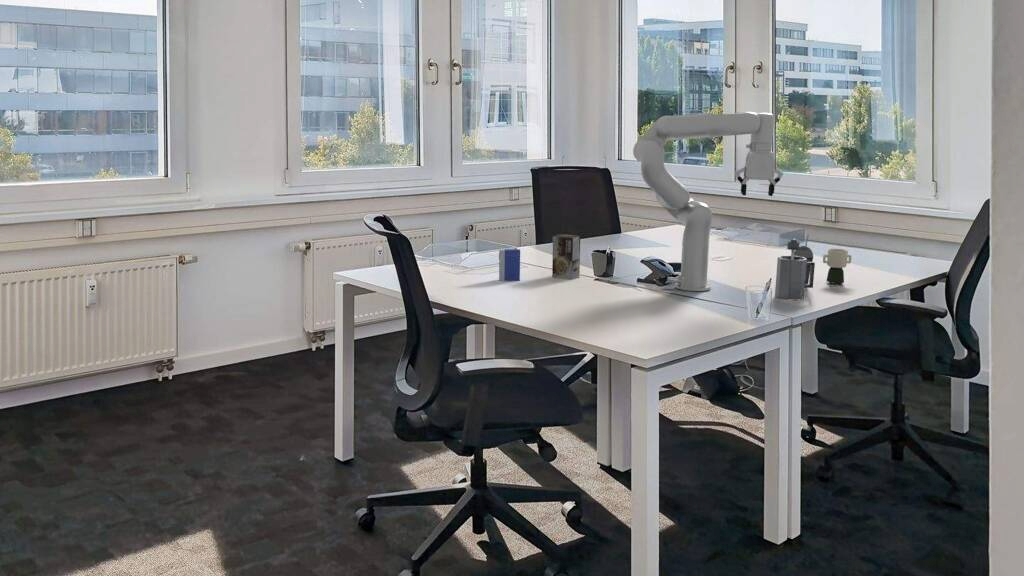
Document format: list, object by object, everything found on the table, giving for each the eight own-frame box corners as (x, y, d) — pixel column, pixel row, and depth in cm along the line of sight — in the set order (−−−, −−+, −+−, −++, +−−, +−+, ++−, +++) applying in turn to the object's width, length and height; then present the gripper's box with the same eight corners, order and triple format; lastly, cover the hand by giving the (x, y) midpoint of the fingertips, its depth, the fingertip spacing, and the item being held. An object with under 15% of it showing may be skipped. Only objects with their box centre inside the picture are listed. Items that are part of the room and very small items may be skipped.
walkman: (519, 279, 347) (519, 248, 345) (519, 280, 345) (520, 249, 342) (498, 279, 347) (498, 248, 344) (498, 280, 344) (499, 249, 342)
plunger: (783, 296, 320) (787, 240, 316) (777, 292, 326) (781, 237, 322) (801, 296, 320) (806, 240, 316) (795, 293, 326) (799, 237, 322)
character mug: (845, 281, 352) (848, 248, 350) (852, 285, 345) (855, 251, 343) (817, 281, 352) (820, 248, 349) (824, 285, 345) (827, 251, 342)
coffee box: (580, 277, 354) (581, 235, 350) (572, 279, 348) (573, 237, 345) (559, 274, 358) (560, 233, 355) (551, 277, 353) (552, 235, 350)
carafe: (780, 299, 318) (783, 260, 315) (772, 294, 327) (774, 255, 325) (816, 300, 319) (819, 260, 316) (806, 294, 328) (809, 255, 325)
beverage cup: (795, 284, 345) (799, 232, 341) (814, 287, 340) (818, 234, 336) (787, 287, 339) (791, 234, 335) (806, 290, 335) (810, 236, 331)
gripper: (739, 147, 325) (735, 195, 329) (787, 149, 326) (783, 197, 329) (734, 146, 333) (730, 193, 336) (781, 147, 333) (777, 195, 336)
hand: (757, 195), depth 333 cm, fingers open, 9 cm apart
